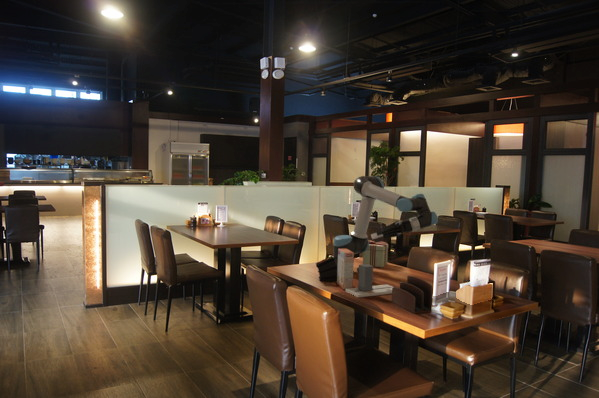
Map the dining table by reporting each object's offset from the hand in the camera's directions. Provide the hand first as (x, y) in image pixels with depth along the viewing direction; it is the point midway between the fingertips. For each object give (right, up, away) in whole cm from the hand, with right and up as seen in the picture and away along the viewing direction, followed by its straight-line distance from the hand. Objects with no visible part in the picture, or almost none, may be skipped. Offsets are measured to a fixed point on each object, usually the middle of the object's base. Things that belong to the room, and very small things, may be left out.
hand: (371, 236), depth 251 cm
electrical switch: (-2, -28, +11) cm, 30 cm away
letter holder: (+13, -31, -38) cm, 51 cm away
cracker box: (-16, -28, -4) cm, 33 cm away
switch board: (-2, -29, -14) cm, 32 cm away
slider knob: (-6, -27, -16) cm, 32 cm away
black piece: (-26, -27, +7) cm, 38 cm away
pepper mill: (+57, -31, -13) cm, 66 cm away
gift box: (+12, -25, +59) cm, 65 cm away
